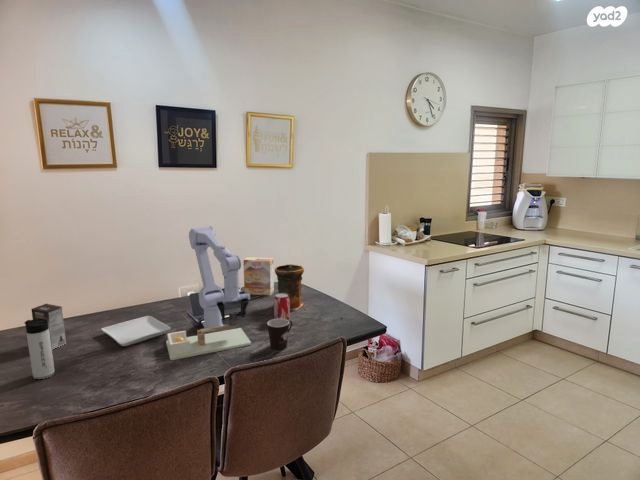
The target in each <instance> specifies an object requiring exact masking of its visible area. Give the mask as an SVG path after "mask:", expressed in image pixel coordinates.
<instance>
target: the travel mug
mask: <svg viewBox="0 0 640 480" xmlns="http://www.w3.org/2000/svg"><path fill="white" fill-rule="evenodd" d="M24 325H25V329H26V330H25V332H26V339H27V346H28V354H29V359H30V367H31V373H32V378H34V380H35V379H44V380H46V379H45V378H47V379H49V378H48V377H50V378H51V377H53V376H54V375H55V374H54V373H55V363H54V356H53V350H52V348H51V340H50V333H49V327H48V321H47V320H45V319H33V318H32V319H28V320H26V321H24ZM52 375H53V376H52Z"/></svg>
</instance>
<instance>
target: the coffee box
mask: <svg viewBox="0 0 640 480" xmlns="http://www.w3.org/2000/svg"><path fill="white" fill-rule="evenodd" d="M31 316H32V317H31V318H32V320H33V319H45V320H47V321H48V327H49V333H50V340H51V348H52V351H54V350H53V349H55V348H57V347H59V348H61V347H63V346H65V345H67V340H66V339H67V338H66V333H65V324H64V314H63V307H62V306H61V305H55V304H50V303H44V304H41V305H38V306H36V307H34V308H31ZM64 344H65V345H64ZM62 345H63V346H62ZM60 346H61V347H60ZM57 349H58V348H57ZM55 350H56V349H55Z"/></svg>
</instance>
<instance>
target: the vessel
mask: <svg viewBox="0 0 640 480" xmlns="http://www.w3.org/2000/svg"><path fill="white" fill-rule="evenodd" d="M304 272H305V269H304V267H303V266H302V265H298V264H294V263H293V264H292V263H291V264H284V265H279V266H276V267H275V268H274V273H275V275H276V278H277V290H278V291H277V294H279V293H285V294H288V297H289V303H290V311H291V310H293V311H294V310H298V309H300V308H301V307H303V306H304V302H302V297H301V296H302V281H303V276H302V275H303V274H304ZM301 303H302V304H301Z"/></svg>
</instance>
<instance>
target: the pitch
mask: <svg viewBox="0 0 640 480" xmlns="http://www.w3.org/2000/svg"><path fill="white" fill-rule="evenodd" d="M204 334H205V344H204V345H200V344H199V342H198V336H197V335H191V336H186V337H187V341H188V340H189V341H190V351H188V352H183V353H178V354H172V355H171V353H170V349H169V345H168V340H166V341H165V342H166V348H167V352H168V356H169V359H170V361H174V360H179V359H185V358H190V357H195V356H199V355H206V354H211V353H216V352H219V351H220V352H221V351H227V350H232V349H236V348H241V347H247V346H251V345H252V341H251V340H250V339H249V337H248V336H247V334H246V333H245V331H244V330H243V329H242V327H238V328H230V329H224V330H219V331H213V332H209V333H208V332H207V333H204Z"/></svg>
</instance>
